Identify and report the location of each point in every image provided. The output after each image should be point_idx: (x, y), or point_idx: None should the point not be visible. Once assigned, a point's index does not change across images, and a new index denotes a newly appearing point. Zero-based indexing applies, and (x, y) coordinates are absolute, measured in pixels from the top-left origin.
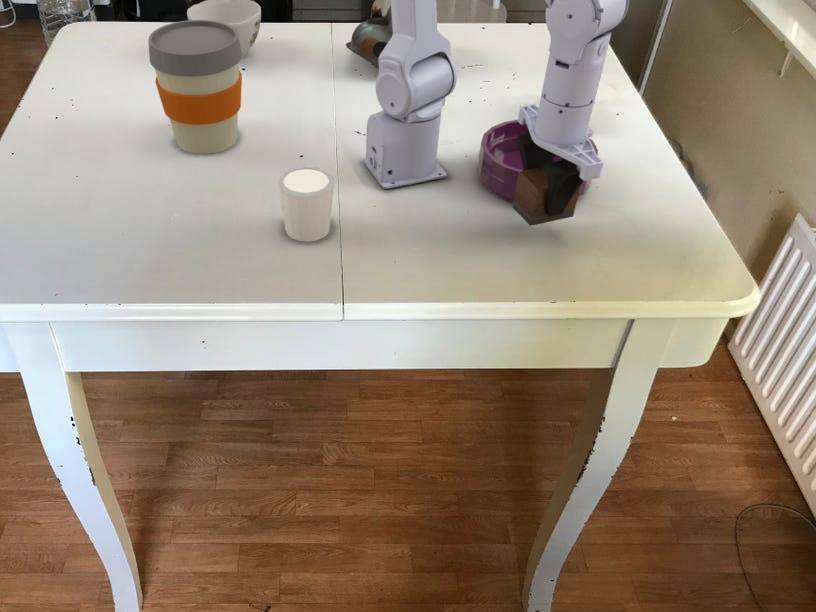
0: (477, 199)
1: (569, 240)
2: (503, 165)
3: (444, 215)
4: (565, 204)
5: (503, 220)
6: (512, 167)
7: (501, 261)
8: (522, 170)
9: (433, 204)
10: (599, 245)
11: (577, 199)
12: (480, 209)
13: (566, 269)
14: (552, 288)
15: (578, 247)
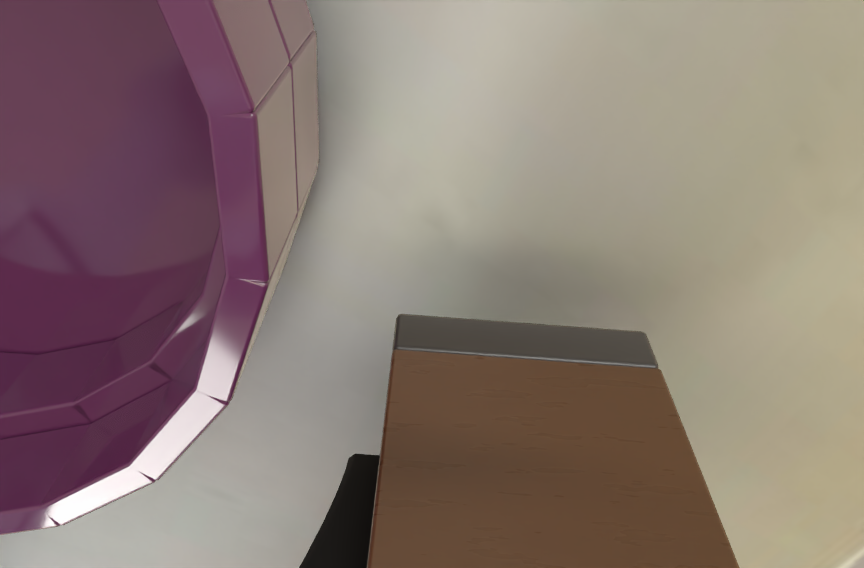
0: None
1: (634, 246)
2: (27, 526)
3: (219, 560)
4: None
5: (330, 414)
6: (64, 501)
7: None
8: (116, 471)
9: (130, 559)
10: (782, 123)
11: (686, 435)
12: (211, 449)
13: (801, 385)
14: (845, 486)
15: (713, 242)
